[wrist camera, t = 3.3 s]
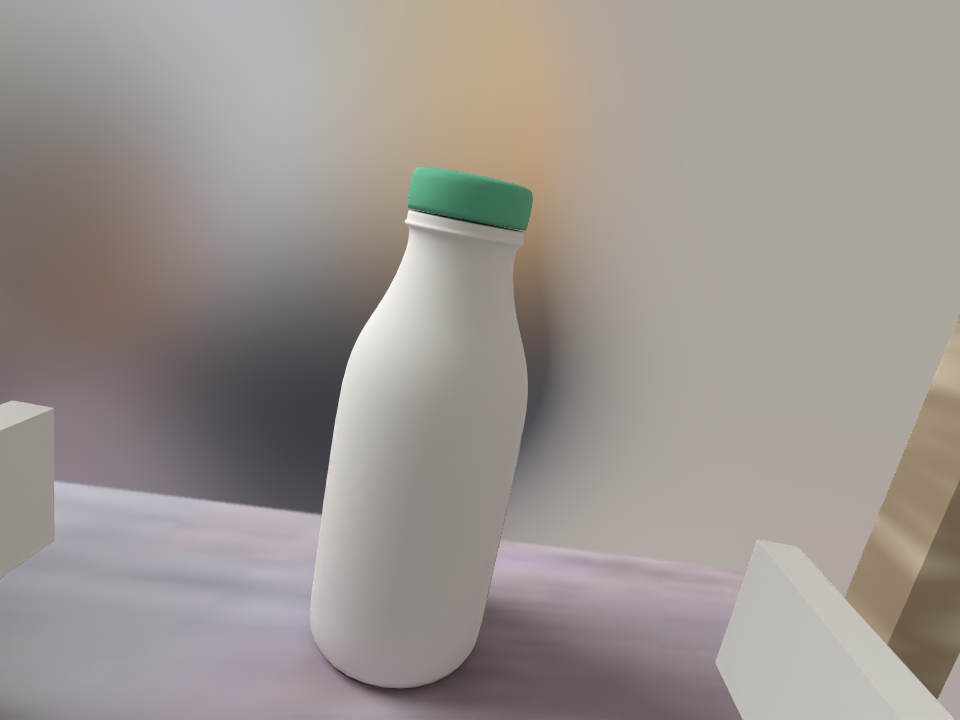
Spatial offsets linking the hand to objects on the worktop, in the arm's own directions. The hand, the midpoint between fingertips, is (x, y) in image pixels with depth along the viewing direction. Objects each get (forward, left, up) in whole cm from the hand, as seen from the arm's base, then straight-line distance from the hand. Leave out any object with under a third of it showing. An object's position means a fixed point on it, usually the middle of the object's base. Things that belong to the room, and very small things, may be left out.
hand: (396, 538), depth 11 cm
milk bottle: (-4, +12, -13) cm, 18 cm away
